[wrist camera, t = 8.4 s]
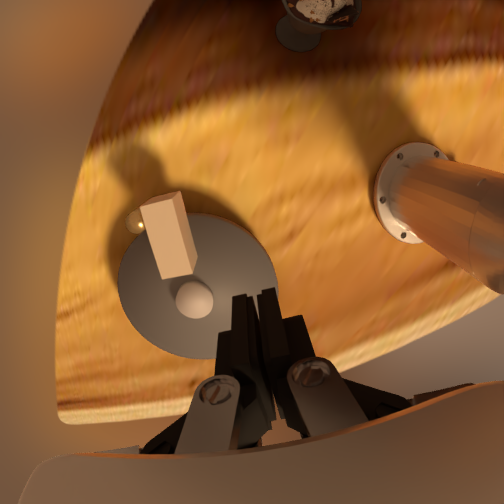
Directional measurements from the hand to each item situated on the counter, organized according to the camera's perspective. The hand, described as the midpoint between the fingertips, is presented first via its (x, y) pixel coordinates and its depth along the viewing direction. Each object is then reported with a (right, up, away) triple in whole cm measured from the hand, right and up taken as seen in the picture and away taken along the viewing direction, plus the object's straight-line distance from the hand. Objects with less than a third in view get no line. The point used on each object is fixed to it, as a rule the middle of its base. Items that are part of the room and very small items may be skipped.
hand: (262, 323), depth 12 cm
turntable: (-6, -1, +22) cm, 23 cm away
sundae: (+5, +26, +14) cm, 30 cm away
